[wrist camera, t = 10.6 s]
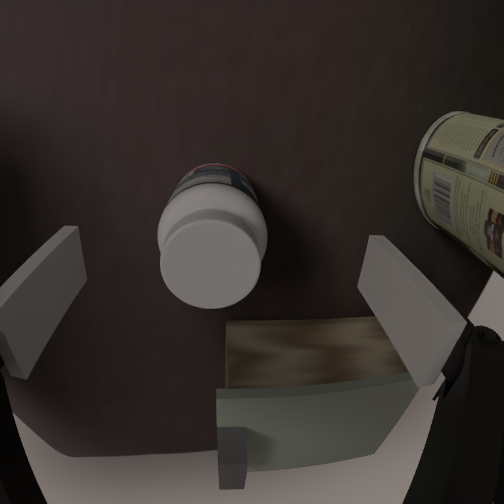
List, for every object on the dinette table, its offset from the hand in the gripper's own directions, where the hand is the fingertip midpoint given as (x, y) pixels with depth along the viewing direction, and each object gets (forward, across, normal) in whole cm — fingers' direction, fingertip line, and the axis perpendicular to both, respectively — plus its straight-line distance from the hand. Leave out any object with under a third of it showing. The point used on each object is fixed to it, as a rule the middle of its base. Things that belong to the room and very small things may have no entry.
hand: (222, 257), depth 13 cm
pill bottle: (+8, -1, 0) cm, 8 cm away
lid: (+1, +7, -15) cm, 16 cm away
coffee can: (+8, +18, +4) cm, 21 cm away
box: (+8, +7, -15) cm, 18 cm away
